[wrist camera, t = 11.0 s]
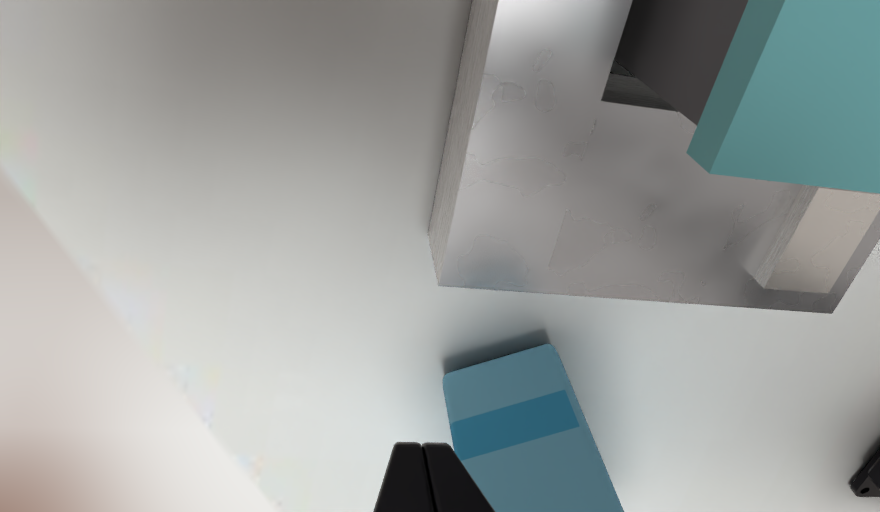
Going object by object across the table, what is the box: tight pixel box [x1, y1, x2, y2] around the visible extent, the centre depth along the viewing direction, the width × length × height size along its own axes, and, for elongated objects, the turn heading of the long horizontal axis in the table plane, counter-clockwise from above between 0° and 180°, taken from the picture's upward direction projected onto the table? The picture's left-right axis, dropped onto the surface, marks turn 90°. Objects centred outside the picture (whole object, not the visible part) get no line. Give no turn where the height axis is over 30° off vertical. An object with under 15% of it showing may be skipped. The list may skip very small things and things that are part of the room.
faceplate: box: [428, 0, 880, 314], centre depth 18 cm, size 14×14×4 cm
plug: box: [614, 0, 880, 194], centre depth 15 cm, size 5×5×8 cm
